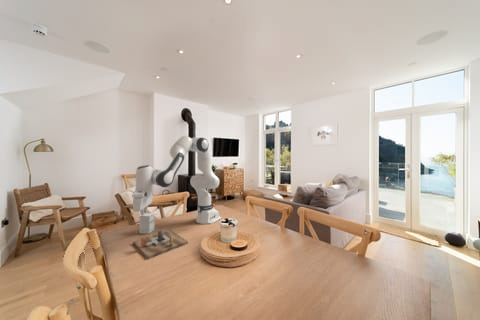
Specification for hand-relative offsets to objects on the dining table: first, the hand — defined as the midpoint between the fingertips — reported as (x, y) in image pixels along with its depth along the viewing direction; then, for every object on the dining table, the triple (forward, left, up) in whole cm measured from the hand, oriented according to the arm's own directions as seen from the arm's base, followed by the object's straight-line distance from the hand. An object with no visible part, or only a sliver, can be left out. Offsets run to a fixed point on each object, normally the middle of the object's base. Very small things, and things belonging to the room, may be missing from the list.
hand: (143, 214), depth 111 cm
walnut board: (-8, +6, -19) cm, 22 cm away
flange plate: (-4, +6, -17) cm, 19 cm away
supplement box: (-9, -19, -19) cm, 28 cm away
